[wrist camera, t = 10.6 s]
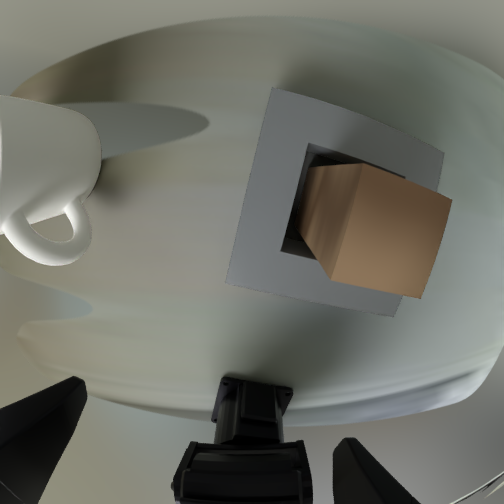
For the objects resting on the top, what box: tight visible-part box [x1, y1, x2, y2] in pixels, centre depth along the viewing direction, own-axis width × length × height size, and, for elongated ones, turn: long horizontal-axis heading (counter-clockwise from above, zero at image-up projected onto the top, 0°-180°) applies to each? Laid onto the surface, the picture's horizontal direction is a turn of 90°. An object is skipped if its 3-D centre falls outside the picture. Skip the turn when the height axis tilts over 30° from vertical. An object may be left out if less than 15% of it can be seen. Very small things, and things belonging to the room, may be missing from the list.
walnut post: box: [294, 163, 452, 299], centre depth 13 cm, size 4×4×10 cm
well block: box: [225, 87, 444, 317], centre depth 16 cm, size 11×11×4 cm
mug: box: [0, 95, 102, 266], centre depth 13 cm, size 12×8×10 cm
